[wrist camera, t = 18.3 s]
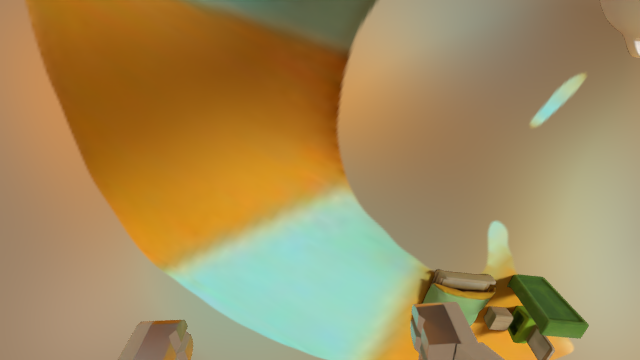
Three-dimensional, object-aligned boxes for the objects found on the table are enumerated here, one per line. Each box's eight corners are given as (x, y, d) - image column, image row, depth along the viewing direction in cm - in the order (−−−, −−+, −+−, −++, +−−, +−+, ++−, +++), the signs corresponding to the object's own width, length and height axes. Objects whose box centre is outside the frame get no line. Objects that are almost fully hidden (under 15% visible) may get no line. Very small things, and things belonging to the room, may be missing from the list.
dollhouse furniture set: (411, 318, 58) (428, 373, 49) (432, 263, 52) (456, 314, 44) (514, 327, 60) (549, 381, 51) (546, 275, 54) (591, 326, 45)
